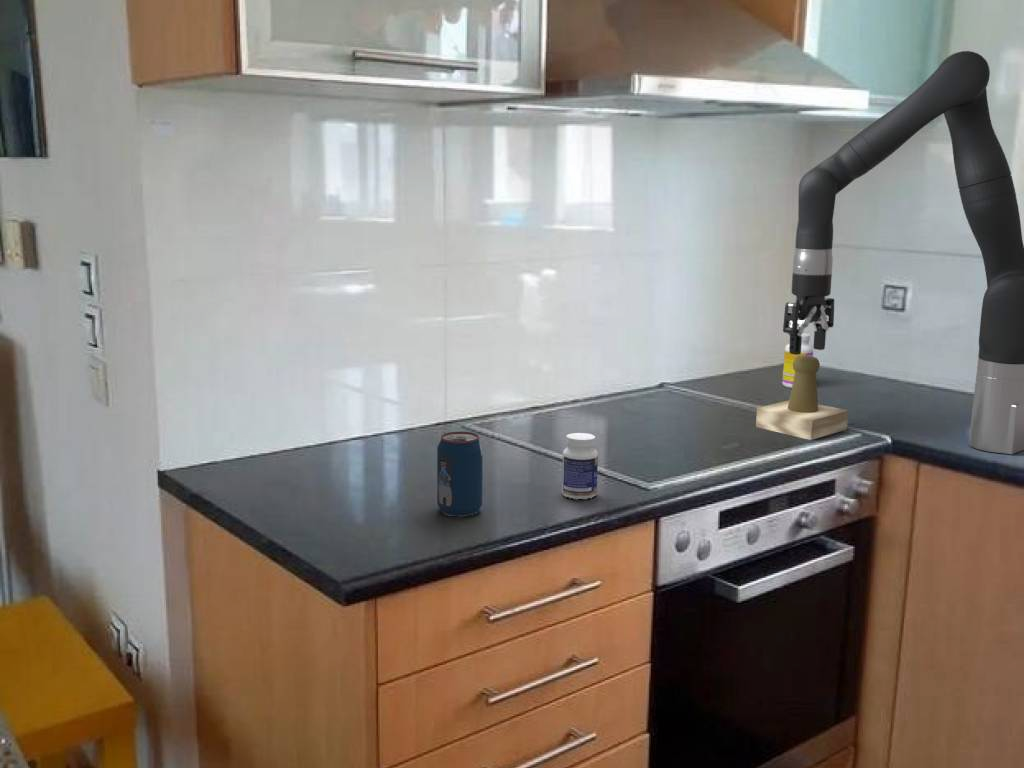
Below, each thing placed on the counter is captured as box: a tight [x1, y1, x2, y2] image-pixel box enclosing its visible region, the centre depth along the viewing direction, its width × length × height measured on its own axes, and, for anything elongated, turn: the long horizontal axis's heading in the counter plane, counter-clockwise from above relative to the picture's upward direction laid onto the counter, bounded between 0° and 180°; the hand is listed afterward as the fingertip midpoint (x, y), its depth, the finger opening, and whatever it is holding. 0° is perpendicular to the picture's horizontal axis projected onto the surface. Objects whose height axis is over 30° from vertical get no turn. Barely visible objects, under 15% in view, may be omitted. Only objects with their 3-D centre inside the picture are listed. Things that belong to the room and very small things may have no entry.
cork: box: [788, 356, 820, 413], centre depth 211 cm, size 6×6×11 cm
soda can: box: [436, 431, 484, 517], centre depth 159 cm, size 7×7×12 cm
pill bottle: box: [561, 432, 599, 500], centre depth 168 cm, size 6×6×10 cm
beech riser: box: [755, 399, 849, 441], centre depth 212 cm, size 13×13×4 cm
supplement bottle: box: [782, 332, 814, 389], centre depth 251 cm, size 7×7×13 cm
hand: (807, 351), depth 209 cm, fingers open, 8 cm apart
